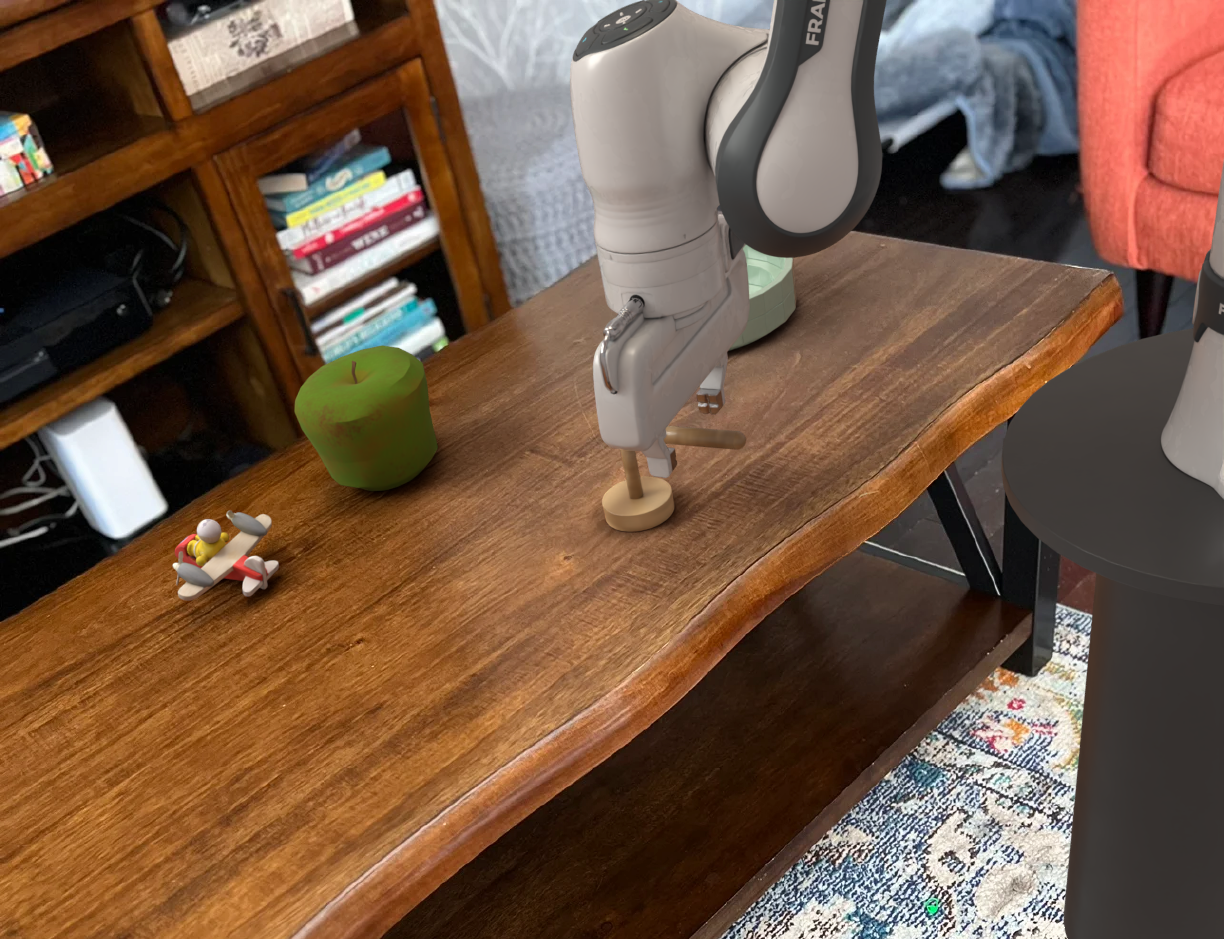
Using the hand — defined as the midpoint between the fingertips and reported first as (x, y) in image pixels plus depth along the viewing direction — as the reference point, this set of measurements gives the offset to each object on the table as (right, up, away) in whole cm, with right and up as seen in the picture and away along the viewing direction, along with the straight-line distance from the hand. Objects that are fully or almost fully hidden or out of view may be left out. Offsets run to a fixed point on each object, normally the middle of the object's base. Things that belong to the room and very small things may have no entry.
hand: (689, 440), depth 101 cm
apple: (-27, +3, +21) cm, 35 cm away
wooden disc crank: (0, -5, +6) cm, 7 cm away
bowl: (+4, +21, +30) cm, 37 cm away
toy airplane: (-39, -9, +12) cm, 42 cm away
